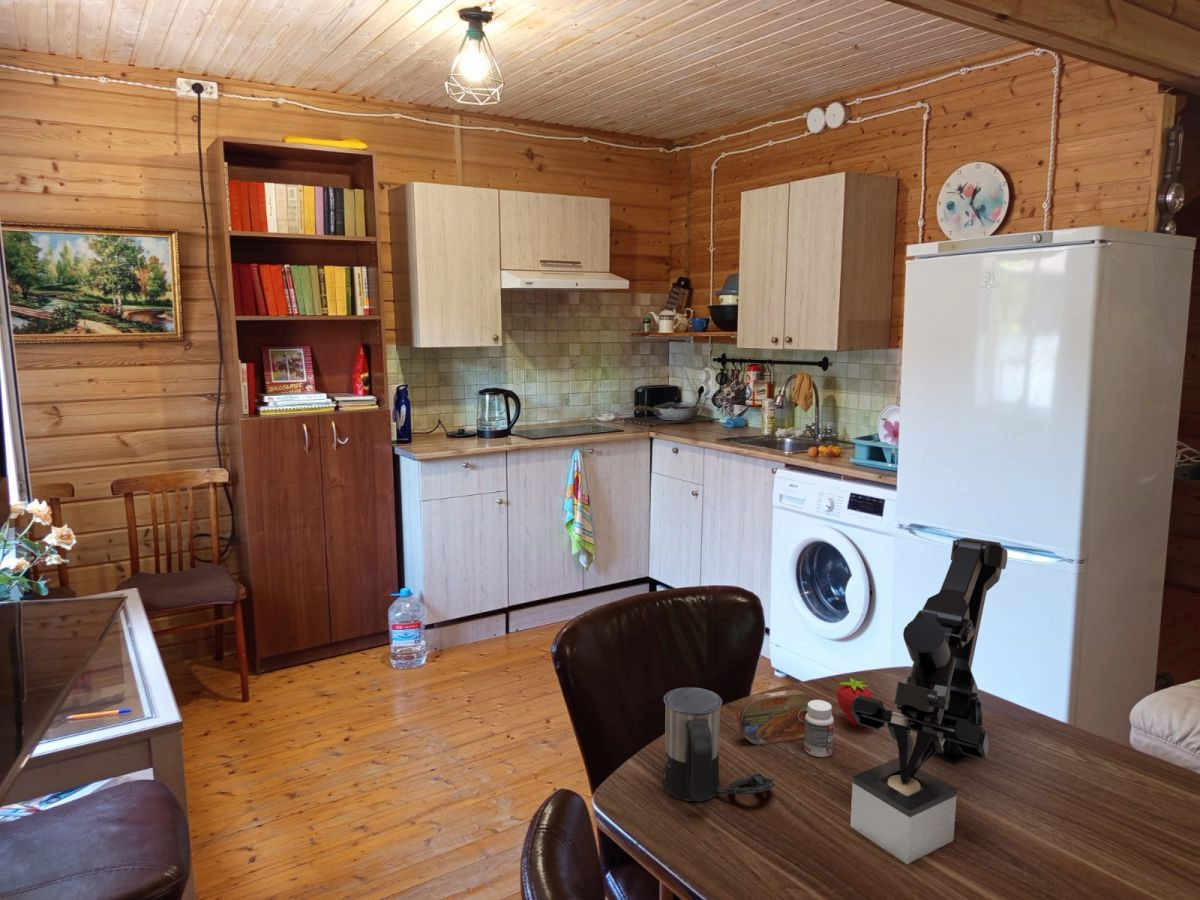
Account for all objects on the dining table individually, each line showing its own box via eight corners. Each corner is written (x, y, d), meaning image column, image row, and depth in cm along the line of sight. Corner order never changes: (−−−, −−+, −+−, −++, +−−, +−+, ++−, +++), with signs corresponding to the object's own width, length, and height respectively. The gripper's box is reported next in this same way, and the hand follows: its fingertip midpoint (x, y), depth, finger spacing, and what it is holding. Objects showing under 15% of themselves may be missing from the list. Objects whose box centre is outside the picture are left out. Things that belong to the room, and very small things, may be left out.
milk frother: (652, 777, 136) (653, 691, 133) (737, 758, 141) (739, 675, 139) (693, 826, 123) (695, 732, 120) (784, 803, 128) (788, 713, 126)
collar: (896, 805, 128) (898, 757, 126) (953, 840, 119) (957, 788, 118) (850, 826, 122) (852, 776, 121) (906, 864, 114) (910, 810, 113)
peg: (898, 818, 124) (901, 771, 122) (924, 834, 120) (927, 786, 119) (878, 828, 121) (881, 780, 120) (903, 844, 118) (906, 795, 117)
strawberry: (848, 737, 148) (851, 684, 147) (828, 717, 155) (830, 666, 154) (878, 733, 149) (881, 681, 148) (857, 714, 157) (859, 663, 155)
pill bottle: (833, 759, 141) (835, 712, 140) (804, 756, 142) (806, 710, 141) (831, 745, 146) (833, 700, 144) (803, 742, 147) (805, 697, 145)
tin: (740, 747, 145) (742, 702, 144) (733, 738, 148) (734, 694, 147) (819, 737, 148) (821, 692, 147) (811, 728, 151) (813, 685, 150)
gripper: (857, 644, 126) (828, 741, 119) (991, 674, 116) (967, 783, 108) (871, 675, 134) (844, 769, 127) (997, 707, 123) (976, 811, 116)
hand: (904, 781), depth 119 cm, fingers closed, pressing on peg
